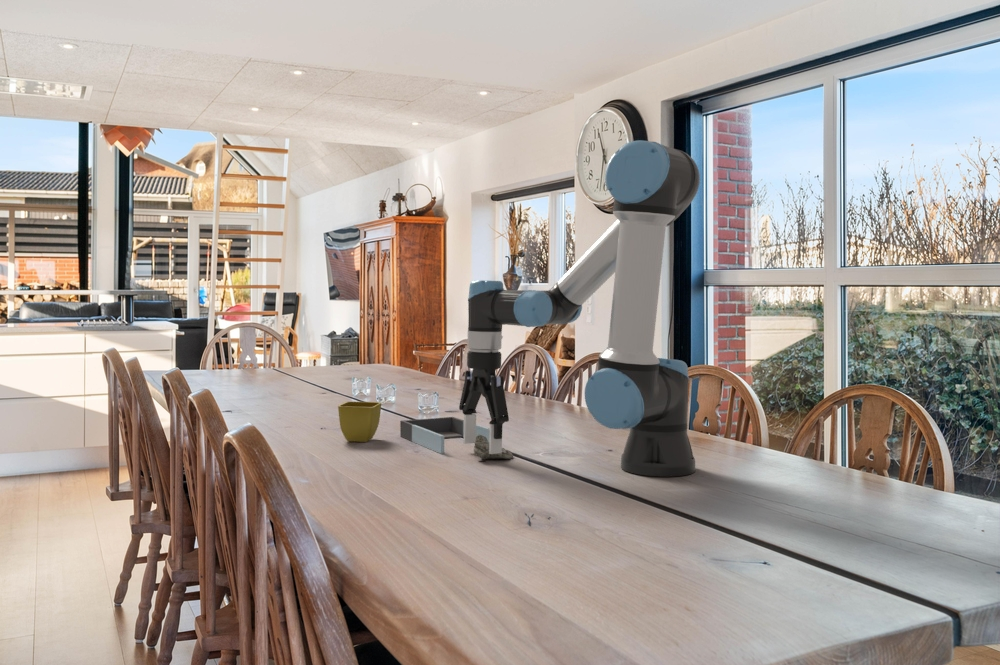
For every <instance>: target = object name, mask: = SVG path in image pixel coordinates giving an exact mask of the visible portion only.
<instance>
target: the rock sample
mask: <svg viewBox="0 0 1000 665" xmlns="http://www.w3.org/2000/svg"><path fill="white" fill-rule="evenodd" d="M473 445H474V448H473V452H474V454H475V455H476V456H478V457H480V459H481V460H488V459H494V460H497V459H499V460H503V459H504V460H505V459H506V460H512V458H513V457H514V454H513V453H512V452H511V451H510V450H507V449H505V448H504V447H502V453H498V454H489V442H488V440H487V438H486V437H484V436H482V435H480V434H478V435H477V437H476V441H475V443H473Z"/></svg>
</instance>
